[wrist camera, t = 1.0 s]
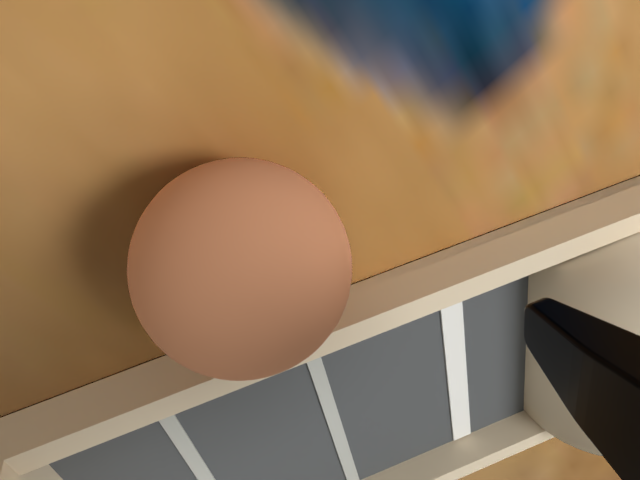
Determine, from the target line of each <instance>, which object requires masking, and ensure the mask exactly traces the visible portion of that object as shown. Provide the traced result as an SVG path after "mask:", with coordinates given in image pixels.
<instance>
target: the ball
mask: <svg viewBox="0 0 640 480" xmlns="http://www.w3.org/2000/svg"><path fill="white" fill-rule="evenodd" d="M127 279H128V287H129V294H130V297H131V301H132V305H133V307H134V310H135V312H136V315H137V317H138V319H139V321H140V323H141V325H142V326H143V328H144V329H145V331H146V332H147V334H148V335H149V336H150V338H151V339H152V341H153V342H154V343H155V344H156V345H157V346H158V347H159V348H160V349H161V350H162V351H163V352H164V353H165V354H166V355H168V356H169V357H170V358H171V359H173V360H174V361H176V362H177V363H179V364H181V365H183V366H184V367H186V368H188V369H190V370H192V371H194V372H196V373H199V374H201V375H205V376H208V377H212V378H217V379H222V380H229V381H246V380H255V379H261V378H265V377H269V376H272V375H275V374H278V373H281V372H283V371H286V370H288V369H290V368H292V367H294V366H295V365H297V364H299V363H301V362H302V361H304V360H305V359H306V358H308V357H309V356H310V355H312V354H313V353H314V352H315V351H316V350H317V349H318V348H319V347H320V346H321V345H322V344H323V343H324V342H325V340H326V339H327V338H328V337H329V335H330V334H331V333H332V332H333V330H334V328H335V327H336V325H337V324H338V322H339V320H340V318H341V316H342V313H343V311H344V309H345V306H346V303H347V300H348V297H349V292H350V286H351V280H352V256H351V249H350V244H349V240H348V237H347V234H346V231H345V228H344V226H343V224H342V222H341V220H340V218H339V216H338V214H337V212H336V210H335V208H334V207H333V206H332V204H331V203H330V201H329V200H328V199H327V198H326V196H325V195H324V194H323V193H322V192H321V191H320V190H319V189H318V188H317V187H316V186H315V185H314V184H312V183H311V182H310V181H308V180H307V179H305V178H304V177H303V176H301V175H300V174H298V173H297V172H295V171H293V170H291V169H289V168H287V167H284V166H281V165H279V164H276V163H273V162H270V161H266V160H261V159H255V158H227V159H220V160H215V161H212V162H208V163H204V164H202V165H199V166H197V167H194V168H192V169H190V170H188V171H186V172H184V173H182V174H181V175H179V176H177V177H176V178H175V179H173V180H172V181H171V182H169V183H168V184H167V185H166V186H165V187H164V188H162V189H161V190H160V191H159V192H158V193H157V194H156V196H155V197H154V198H153V199H152V201H151V202H150V203H149V204H148V206H147V207H146V208H145V210H144V212H143V214H142V215H141V217H140V219H139V221H138V223H137V225H136V228H135V230H134V233H133V236H132V238H131V243H130V247H129V251H128V263H127Z"/></svg>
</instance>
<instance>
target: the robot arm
mask: <svg viewBox="0 0 640 480" xmlns="http://www.w3.org/2000/svg"><path fill="white" fill-rule="evenodd" d="M524 340H525V343H526V345H527V347H528V349H529V350H530V352H531V353H532V355H533V357H534V358H535V360H536V361H537V363H538V364H539V366H540V367H541V369H542V371H543V372H544V374H545V375H546V377H547V378H548V380H549V382H550V383H551V385H552V386H553V388H554V389H555V391H556V392H557V394H558V396H559V397H560V399H561V400H562V402H563V403H564V405H565V407H566V408H567V410H568V411H569V413H570V414H571V416H572V417H573V418H574V420H575V421H576V423H577V424H578V425H579V426H580V428H581V429H582V430H583V432H584V433H585V434H586V435H587V437H588V438H589V439H590V440H591V442H592V443H593V444H594V445H595V447H596V448H597V449H598V450H599V452H600V453H601V454H602V455H603V457H604V458H605V459H606V460H607V462H608V463H609V464H610V465H611V467H612V468H613V469H614V470H615V472H616V473H617V474H618V475H619V477H620V478H621V479H622V480H640V335H637V334H635V333H632V332H630V331H628V330H625V329H623V328H621V327H618V326H616V325H613V324H611V323H609V322H606V321H604V320H602V319H599V318H597V317H594V316H592V315H590V314H587V313H585V312H583V311H580V310H578V309H575V308H573V307H571V306H568V305H566V304H564V303H561V302H559V301H556V300H554V299H552V298H541V299H539V300H536V301H534V302H531V303H529V304H527V305H526V307H525V309H524Z"/></svg>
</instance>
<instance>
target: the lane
mask: <svg viewBox="0 0 640 480" xmlns="http://www.w3.org/2000/svg"><path fill="white" fill-rule="evenodd" d="M541 298H552V299H554V300H556V301H559V302H561V303H564V304H566V305H568V306H571V307H573V308H575V309H578V310H580V311H583V312H585V313H587V314H590V315H592V316H594V317H597V318H599V319H602V320H604V321H606V322H609V323H611V324H613V325H616V326H618V327H621V328H623V329H625V330H628V331H630V332H632V333H635V334H637V335H640V176H638V177H635V178H633V179H630V180H627V181H625V182H622V183H619V184H617V185H614V186H612V187H609V188H606V189H604V190H601V191H598V192H596V193H593V194H590V195H588V196H585V197H582V198H580V199H577V200H575V201H572V202H569V203H567V204H564V205H561V206H559V207H556V208H553V209H551V210H548V211H545V212H543V213H540V214H538V215H535V216H532V217H530V218H527V219H524V220H522V221H519V222H516V223H514V224H511V225H508V226H506V227H503V228H501V229H498V230H495V231H493V232H490V233H487V234H485V235H482V236H479V237H477V238H474V239H472V240H469V241H466V242H464V243H461V244H458V245H456V246H453V247H450V248H448V249H445V250H442V251H440V252H437V253H435V254H432V255H429V256H427V257H424V258H421V259H419V260H416V261H413V262H411V263H408V264H405V265H403V266H400V267H398V268H395V269H392V270H390V271H387V272H384V273H382V274H379V275H376V276H374V277H371V278H369V279H366V280H363V281H361V282H358V283H355V284H353V285H351V286H350V292H349V297H348V300H347V303H346V306H345V309H344V311H343V313H342V316H341V318H340V320H339V322H338V324H337V325H336V327H335V328H334V330H333V332H332V333H331V334H330V335H329V337H328V338H327V339H326V340H325V342H324V343H323V344H322V345H321V346H320V347H319V348H318V349H317V350H316V351H315V352H314V353H313V354H312V355H310V356H309V357H308V358H306V359H305V360H304V361H302V362H301V363H299V364H297V365H295V366H294V367H292V368H290V369H288V370H286V371H283V372H281V373H278V374H275V375H272V376H269V377H265V378H261V379H255V380H246V381H229V380H222V379H217V378H212V377H208V376H205V375H201V374H199V373H196V372H194V371H192V370H190V369H188V368H186V367H184V366H183V365H181V364H179V363H177V362H176V361H174V360H173V359H171V358H170V357H169V356H168V355H165V356H162V357H160V358H157V359H155V360H152V361H149V362H147V363H144V364H141V365H139V366H136V367H133V368H131V369H128V370H125V371H123V372H120V373H118V374H115V375H112V376H110V377H107V378H104V379H102V380H99V381H96V382H94V383H91V384H89V385H86V386H83V387H81V388H78V389H75V390H73V391H70V392H67V393H65V394H62V395H59V396H57V397H54V398H52V399H49V400H46V401H44V402H41V403H38V404H36V405H33V406H30V407H28V408H25V409H22V410H20V411H17V412H15V413H12V414H9V415H7V416H4V417H1V418H0V480H457V479H459V478H462V477H464V476H466V475H468V474H471V473H473V472H475V471H478V470H480V469H482V468H484V467H487V466H489V465H491V464H494V463H496V462H498V461H500V460H503V459H505V458H507V457H510V456H512V455H514V454H516V453H519V452H521V451H523V450H526V449H528V448H530V447H532V446H535V445H537V444H539V443H542V442H544V441H546V440H548V439H551V438H553V437H556V438H558V439H559V440H561V441H563V442H564V443H567V444H569V445H571V446H573V447H575V448H578V449H580V450H583V451H586V452H589V453H592V454H596V455H600V456H603V455H602V454H601V453H600V452H599V450H598V449H597V448H596V447H595V445H594V444H593V443H592V442H591V440H590V439H589V438H588V437H587V435H586V434H585V433H584V432H583V430H582V429H581V428H580V426H579V425H578V424H577V423H576V421H575V420H574V418H573V417H572V416H571V414H570V413H569V411H568V410H567V408H566V407H565V405H564V403H563V402H562V400H561V399H560V397H559V396H558V394H557V392H556V391H555V389H554V388H553V386H552V385H551V383H550V382H549V380H548V378H547V377H546V375H545V374H544V372H543V371H542V369H541V367H540V366H539V364H538V363H537V361H536V360H535V358H534V357H533V355H532V353H531V352H530V350H529V349H528V347H527V345H526V343H525V340H524V309H525V307H526V305H527V304H529V303H531V302H534V301H536V300H539V299H541Z"/></svg>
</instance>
